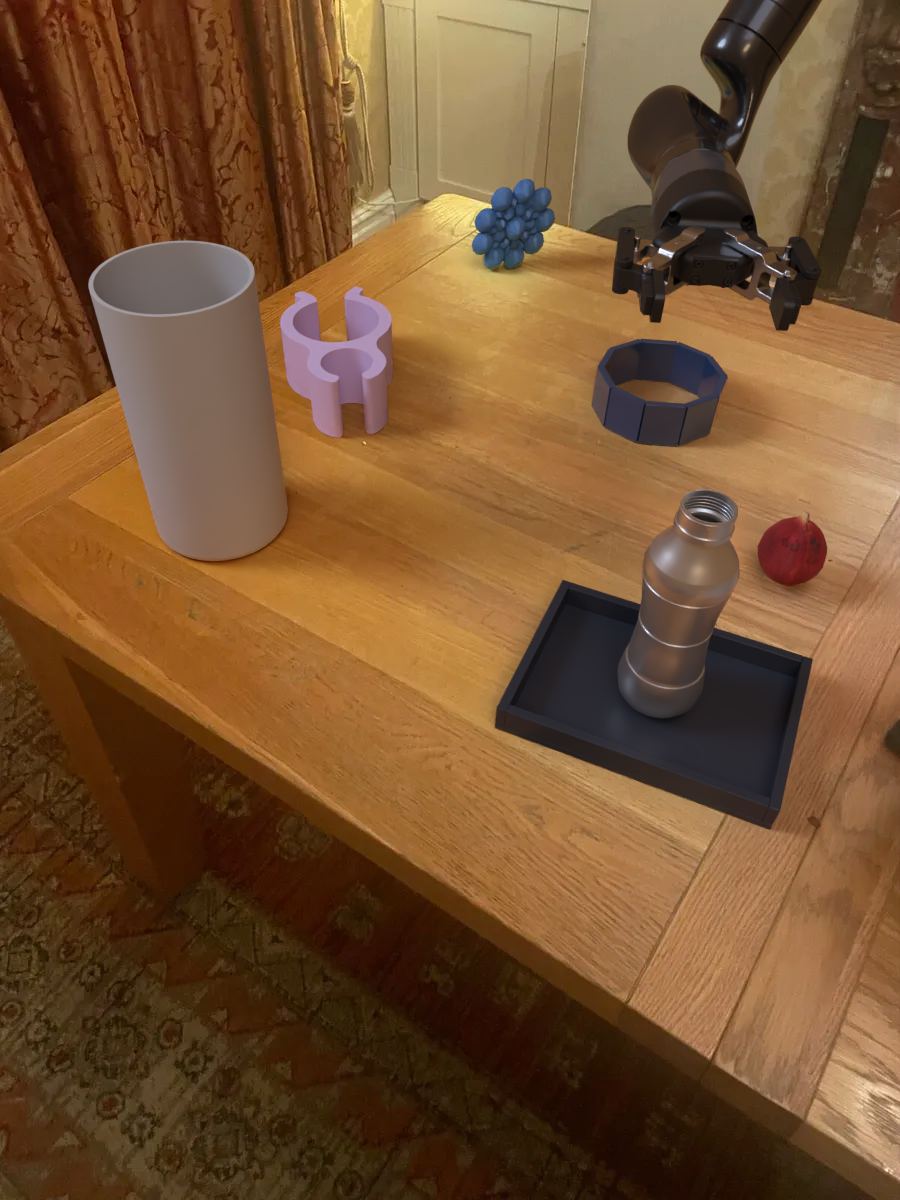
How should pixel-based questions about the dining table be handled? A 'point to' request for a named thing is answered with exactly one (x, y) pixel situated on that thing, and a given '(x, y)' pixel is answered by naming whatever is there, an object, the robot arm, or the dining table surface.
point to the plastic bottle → (680, 605)
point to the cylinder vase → (195, 393)
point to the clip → (340, 360)
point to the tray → (654, 745)
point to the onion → (792, 550)
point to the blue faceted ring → (653, 417)
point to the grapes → (513, 224)
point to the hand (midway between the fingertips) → (722, 314)
